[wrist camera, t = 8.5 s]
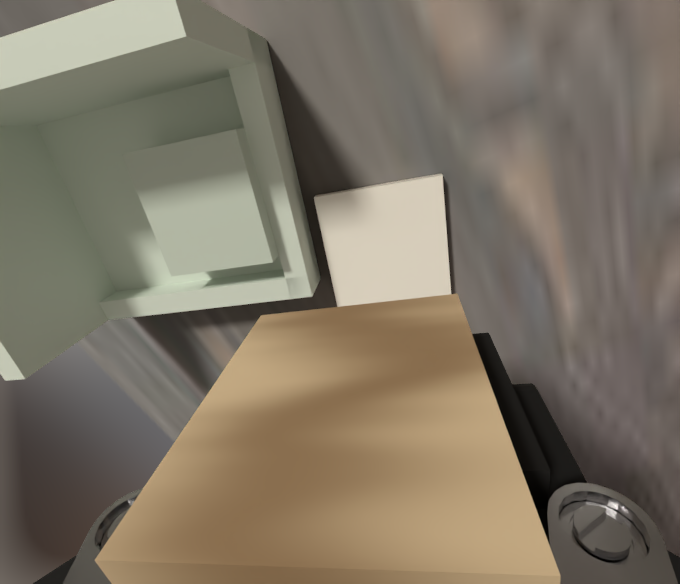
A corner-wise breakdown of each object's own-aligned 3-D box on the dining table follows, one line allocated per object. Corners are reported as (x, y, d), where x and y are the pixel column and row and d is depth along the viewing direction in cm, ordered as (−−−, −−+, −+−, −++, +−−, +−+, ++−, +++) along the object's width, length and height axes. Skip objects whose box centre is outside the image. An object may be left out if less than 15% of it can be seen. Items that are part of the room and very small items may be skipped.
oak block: (457, 293, 9) (560, 575, 3) (467, 447, 11) (543, 782, 5) (261, 315, 10) (95, 559, 4) (303, 453, 12) (226, 739, 6)
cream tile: (441, 173, 18) (442, 175, 18) (450, 290, 21) (451, 295, 20) (316, 195, 20) (313, 197, 19) (339, 302, 22) (337, 307, 22)
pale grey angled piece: (266, 39, 17) (170, -18, 10) (321, 277, 22) (283, 358, 14) (22, 105, 20) (-191, 99, 12) (119, 303, 24) (5, 380, 17)
